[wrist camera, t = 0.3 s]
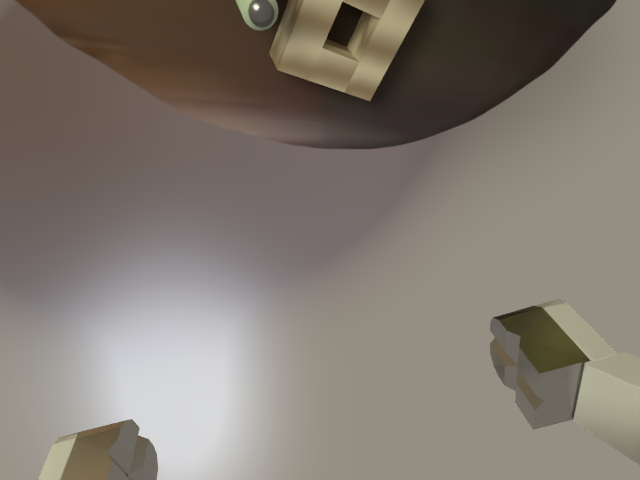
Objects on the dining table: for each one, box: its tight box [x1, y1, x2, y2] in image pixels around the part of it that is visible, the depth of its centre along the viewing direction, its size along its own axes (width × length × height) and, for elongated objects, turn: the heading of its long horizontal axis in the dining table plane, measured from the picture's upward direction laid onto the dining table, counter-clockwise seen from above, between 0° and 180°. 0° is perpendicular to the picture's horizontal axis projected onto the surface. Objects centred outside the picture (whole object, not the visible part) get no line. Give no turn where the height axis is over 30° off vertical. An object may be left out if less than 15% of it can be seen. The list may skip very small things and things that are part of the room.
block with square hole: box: [270, 0, 425, 101], centre depth 52 cm, size 14×14×5 cm
